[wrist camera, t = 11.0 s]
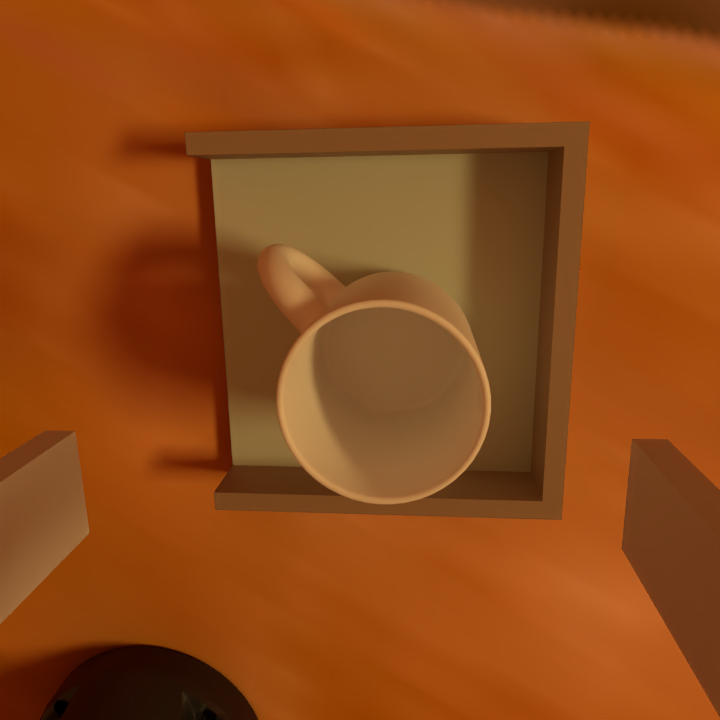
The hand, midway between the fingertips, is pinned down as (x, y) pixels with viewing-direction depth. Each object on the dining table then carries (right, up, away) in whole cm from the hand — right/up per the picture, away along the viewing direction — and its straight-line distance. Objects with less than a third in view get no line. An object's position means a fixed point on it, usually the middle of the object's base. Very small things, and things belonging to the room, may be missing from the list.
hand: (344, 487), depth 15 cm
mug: (+1, +5, +19) cm, 20 cm away
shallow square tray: (+2, +5, +20) cm, 21 cm away
